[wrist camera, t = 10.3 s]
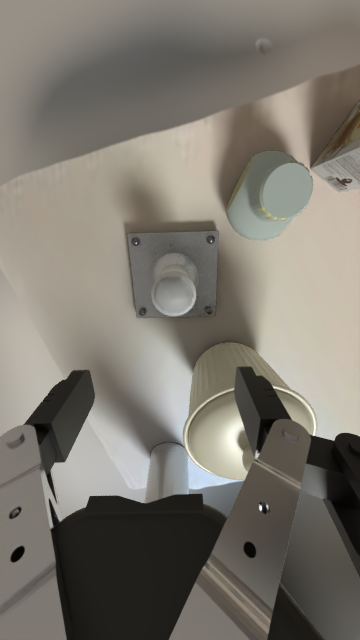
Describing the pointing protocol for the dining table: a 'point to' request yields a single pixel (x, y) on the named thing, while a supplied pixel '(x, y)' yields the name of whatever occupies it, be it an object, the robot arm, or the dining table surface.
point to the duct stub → (173, 291)
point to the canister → (230, 410)
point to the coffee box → (342, 156)
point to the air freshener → (269, 195)
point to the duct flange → (174, 248)
